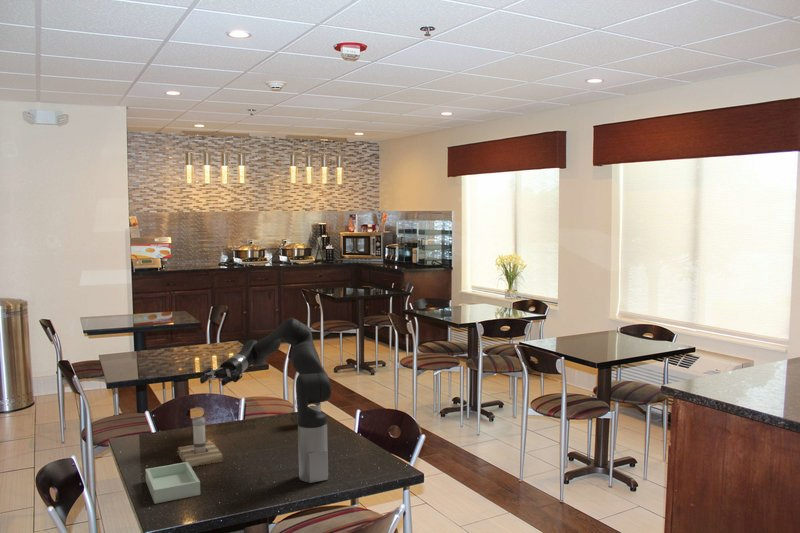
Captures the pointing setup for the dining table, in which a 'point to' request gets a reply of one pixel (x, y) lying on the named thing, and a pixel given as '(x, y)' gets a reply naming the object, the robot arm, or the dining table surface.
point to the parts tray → (172, 482)
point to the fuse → (199, 435)
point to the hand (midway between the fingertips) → (211, 382)
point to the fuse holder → (200, 455)
